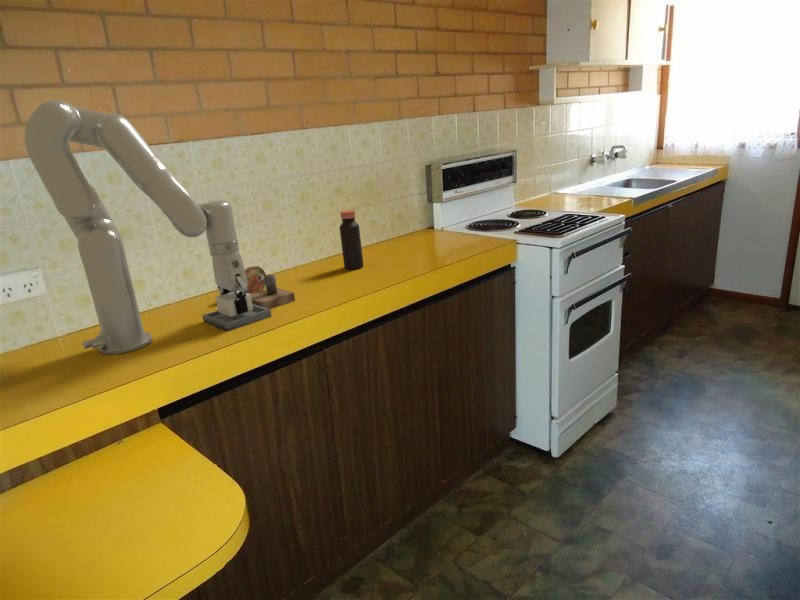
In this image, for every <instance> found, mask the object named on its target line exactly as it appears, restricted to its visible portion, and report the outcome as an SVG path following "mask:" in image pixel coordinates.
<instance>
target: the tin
mask: <svg viewBox="0 0 800 600" xmlns="http://www.w3.org/2000/svg"><path fill="white" fill-rule="evenodd" d="M244 269H245V273H246V277H247V282H248V286H247V288H248V289H247V293H249V294H253V293H257V292H260V291H263V290H265V289H264V288H266V283H265V277H264V276H266V275H267V273H266V272H265V270H264V269H263V268H262V267H260V266H257V265H255V266H249V267H246V268H244ZM236 288H239V286H237V287H235V289H236ZM239 291H240V290H239ZM231 292H232V291H230V293H231Z"/></svg>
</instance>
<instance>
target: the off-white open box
mask: <svg viewBox="0 0 800 600" xmlns="http://www.w3.org/2000/svg"><path fill="white" fill-rule="evenodd" d="M236 292H237V294H238V293H239V292H240V291H236ZM235 300H236V299H235V297H234V294H233V292H231V293H227V294H224V295H220V294H219V295H217V296H215V301H216V308H217V310H218V312H219V313H222V314H225V315H227V316H230V317H232V316H235V315H238V314H237V312H236V307H235V302H234V301H235ZM246 302H247V307H248V311H250V310H253V305H252V300H251V294H249V293H247V294H246Z"/></svg>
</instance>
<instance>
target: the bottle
mask: <svg viewBox="0 0 800 600" xmlns="http://www.w3.org/2000/svg"><path fill="white" fill-rule="evenodd" d="M339 214H340V219H341V221H342V223H341V224H340V226H339V234H340V235H339V236H340V242H341V249H342V258H343V267H344V269H345V270H348V271H349V270H350V271H351V270H359V269H362V268H363V267H364V256H363V250H362V241H361V240H362V239H361V231H360V225H359V223H358V222H357V221H356V213H355V210H353V209H351V210H350V209H349V210H342V211H340V212H339Z"/></svg>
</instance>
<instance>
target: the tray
mask: <svg viewBox="0 0 800 600" xmlns="http://www.w3.org/2000/svg"><path fill="white" fill-rule="evenodd" d="M252 305H253V310H250V311H248V312H245V313H242V314H239V315H235V316H232V317H230V316H227V315H225V314H222V313H219V312H218V309H217V310H214V311H211V312H208V313H205V314H202V316H201V317H202V320H203V323H205V324H208V325H209V326H212V327H216V328H217V329H220V330H221V331H222V330H223V331H225V332H230V331H233V330H235V329H239V328H241V327H245V326H248V325H250V324H254V323H256V322H259V321H262V320H266V319H267V318H271V317H272V312H271V310H272V309H267V308H264V307H261V306H258V305H255V304H252Z"/></svg>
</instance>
